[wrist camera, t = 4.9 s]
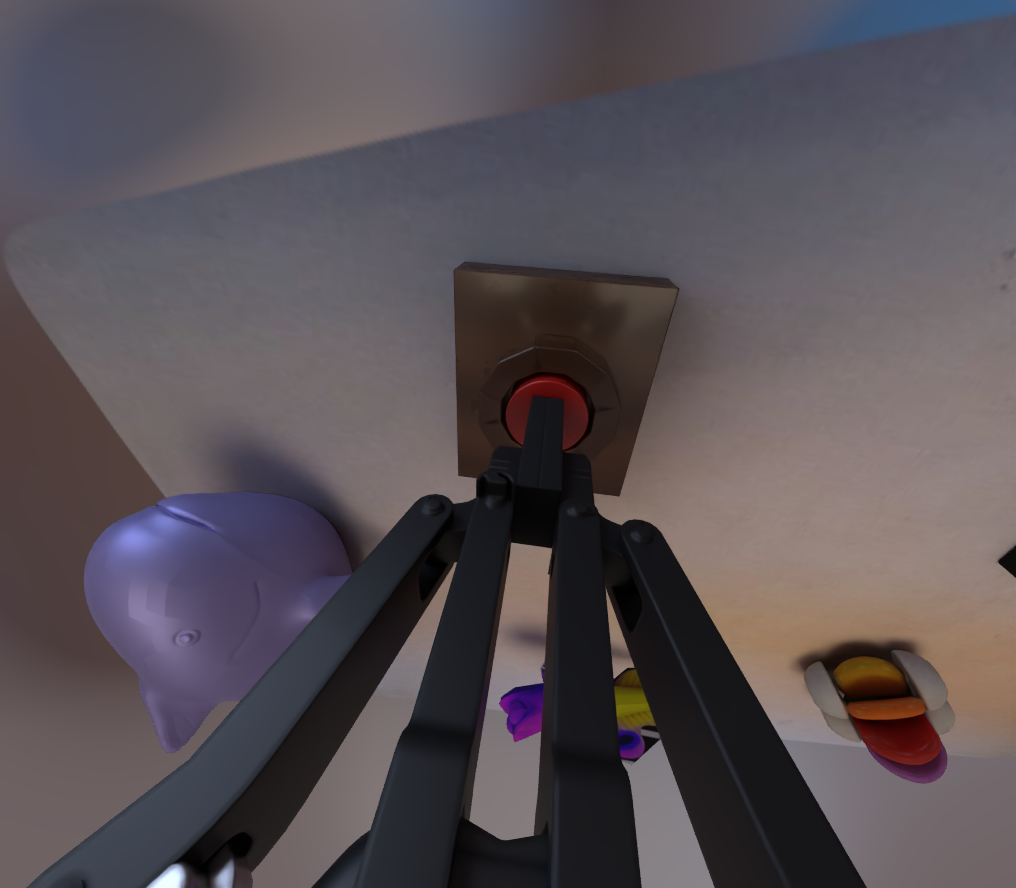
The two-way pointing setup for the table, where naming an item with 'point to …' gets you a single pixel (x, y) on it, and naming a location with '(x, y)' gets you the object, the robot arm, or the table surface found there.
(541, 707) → the toy
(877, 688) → the fanned rainbow disc cluster
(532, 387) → the button
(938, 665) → the table surface
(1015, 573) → the bracket
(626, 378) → the button block
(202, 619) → the toy whale
